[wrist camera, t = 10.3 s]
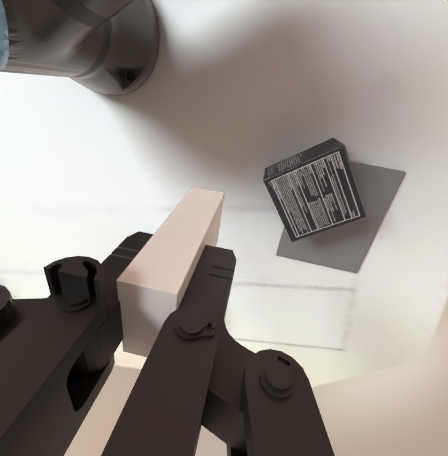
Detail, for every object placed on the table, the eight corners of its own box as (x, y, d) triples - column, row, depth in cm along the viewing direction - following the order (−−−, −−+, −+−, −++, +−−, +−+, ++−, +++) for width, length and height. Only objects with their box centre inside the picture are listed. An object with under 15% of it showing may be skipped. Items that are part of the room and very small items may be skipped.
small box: (289, 224, 43) (356, 201, 39) (291, 244, 38) (369, 219, 34) (264, 166, 40) (335, 135, 36) (262, 179, 34) (345, 144, 30)
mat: (276, 253, 47) (276, 255, 46) (305, 153, 38) (305, 154, 38) (355, 271, 45) (356, 273, 45) (404, 171, 37) (405, 172, 36)
